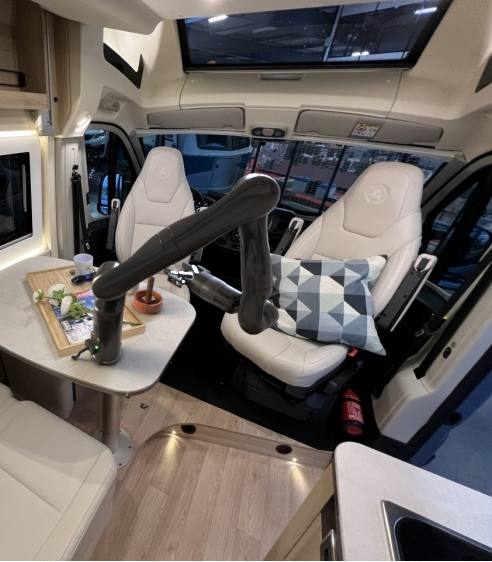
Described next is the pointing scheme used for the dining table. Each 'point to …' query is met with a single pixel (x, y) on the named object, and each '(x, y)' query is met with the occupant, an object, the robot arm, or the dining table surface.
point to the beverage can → (134, 289)
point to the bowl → (144, 307)
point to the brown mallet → (149, 293)
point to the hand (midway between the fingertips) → (173, 266)
